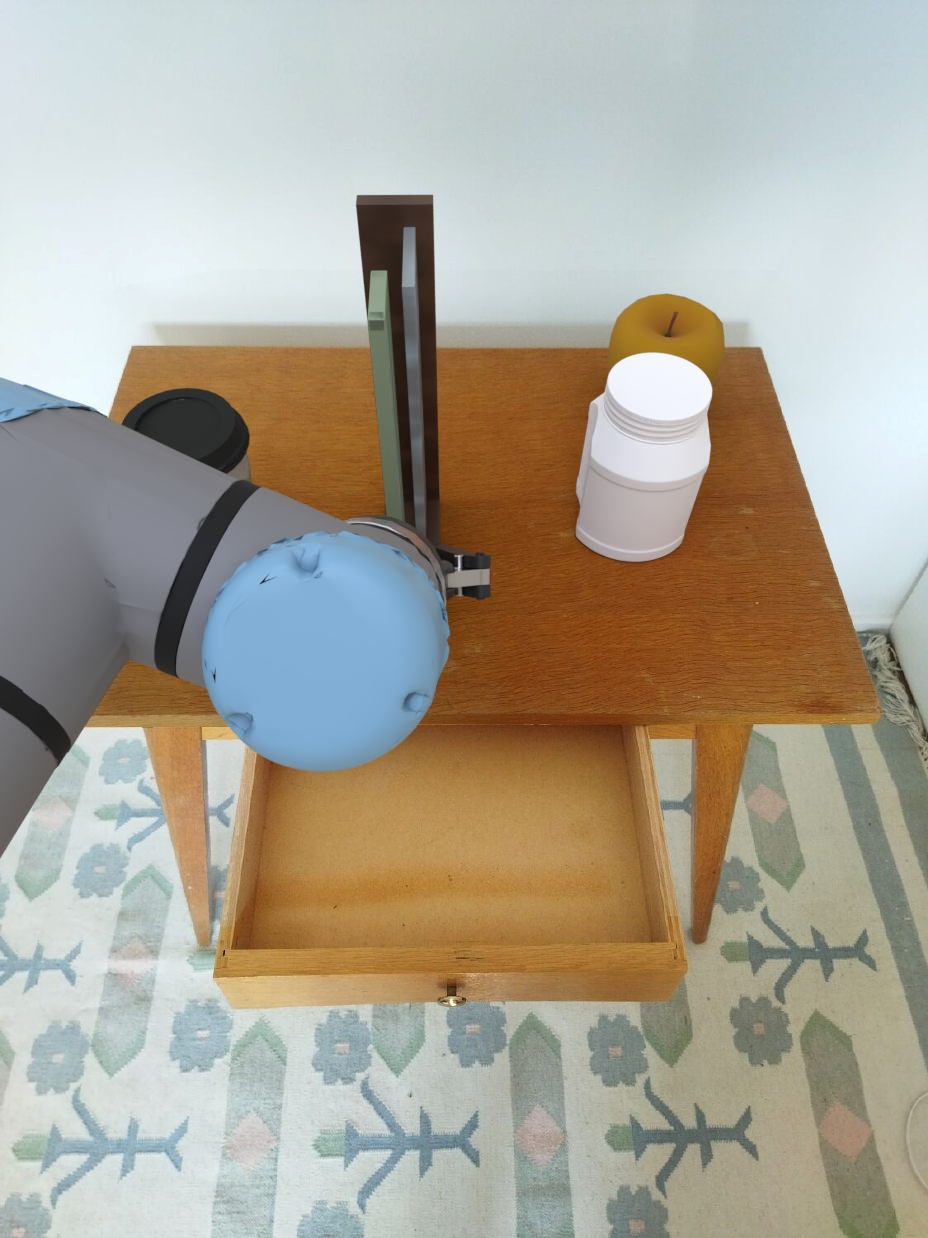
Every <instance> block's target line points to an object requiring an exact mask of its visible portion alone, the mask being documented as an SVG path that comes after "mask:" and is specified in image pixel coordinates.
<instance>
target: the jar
mask: <svg viewBox="0 0 928 1238" xmlns="http://www.w3.org/2000/svg"><path fill="white" fill-rule="evenodd" d="M712 398H713V388H712V386H711V383H710V381H709V379H708V377H707V376H706V375H705V373H704V372H703V371H702V370H701V369H700V368H698V367H697V366H696V365H694V364H693V363H691V362H689V361H687V360H685V359H683V358H680V357H677V356H674V355H670V354H664V353H641V354H636V355H632V356H629V357H627V358H625V359H623V360H621V361H619V362H618V363H617V364H616V365H615V366H614V367H613V368H612V369H611V371H610V373H608V376H607V379H606V383H605V389H604V392H603V393H601V394H600V395H599V396H597V397H596V398H595V399H593V400H592V401H591V402H590V403H589V407H588V408H589V409H588V419H587V425H586V431H585V435H584V436H585V437H584V442H583V448H582V454H581V460H580V466H579V472H578V476H577V478H576V485H575V494H576V496H577V498H578V503H579V511H578V517H577V519H576V524H575V537H576V538H577V539H578V540H579V541H580V543H582V544H583V545H584V546H585V547H587V548H588V549H590V550H591V551H593V552H595V553H597V554H598V555H601V556H603V557H605V558H609V559H612V560H615V561H621V562H629V563H641V562H649V561H654V560H657V559H660V558H663V557H665V556H667V555H669V554H671V553H672V552H674V551H676V549H677V548H679V547H680V546H681V545H682V543H683V540H684V537H685V532H686V529H687V525H688V522H689V519H690V516H691V514H692V511H693V508H694V506H695V502H696V499H697V497H698V493H699V490H700V488H701V485H702V482H703V479H704V476H705V474H706V473H707V470H708V467H709V464H710V459H711V448H712V444H711V438H710V428H709V420H708V411H709V409H710V406H711V405H710V404H711V401H712Z"/></svg>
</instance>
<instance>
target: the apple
mask: <svg viewBox="0 0 928 1238" xmlns="http://www.w3.org/2000/svg"><path fill="white" fill-rule="evenodd" d="M608 343H609V344H608V349H607V370H608V371H607V372H608V374H609V373H610V371H611V369H612V368H613V367H614V366H615V365H616V364H617V363H618V362H619V361H621V360H623V359H625V358H627V357H629V356H632V355H636V354H641V353H664V354H670V355H674V356H677V357H680V358H683V359H685V360H687V361H689V362H691V363H693V364H694V365H696V366H697V367H698V368H700V369H701V370H702V371H703V372H704V373H705V375H706V376H707V377H708V379H709V381H710V383H711V386H712V389H713V388H714V385H715V383H716V381H717V379H718V376H719V373H720V371H721V369H722V366H723V363H724V358H725V353H726V348H725V347H726V346H725V330H724V324H723V322H722V320H721V319H720V318H719V316H718V315H717V313H715V312H714V311H713V310H711V309H709V308H708V307H707V306H705V305H703V304H702V303H701V302H699V301H696V300H694V299H692V298H689V297H686V296H683V295H677V294H672V293H658V294H657V293H656V294H650V295H647V296H644V297H640V298H638V299H636V300H635V301H634V302H632V303H631V304H630V305H628V306H627V307H626V308H624V309H623V310H622V311H621V312H620V313H619V315H618V316H617V318H616V320H615V322H614V325H613V328H612V331H611V334H610V338H609V342H608Z"/></svg>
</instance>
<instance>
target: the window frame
mask: <svg viewBox="0 0 928 1238" xmlns="http://www.w3.org/2000/svg"><path fill="white" fill-rule="evenodd" d="M434 208H435V207H434V194H356V199H355V209H356V221H357V229H358V241H359V249H360V261H361V271H362V279H363V280H362V281H363V290H364V292H363V293H364V302H365V311H366V321H367V323H368V307H369V292H370V277H371V271H387V276H388V291H389V305H390V318H391V332H392V346H393V360H394V374H395V387H396V401H397V415H398V429H399V443H400V456H401V470H402V484H403V498H404V512H405V522H406V523H408V524H409V525H411V526H413V527H414V528H416V529H417V530H418V531H420V532H421V533H422V534H423V535H424V536H425V537H426V538H427V539H428V540H429V541H430V542H431V544H432V543H433V542H440V543H441V499H440V497H441V496H440V454H439V453H440V452H439V447H440V446H439V445H440V444H439V407H438V406H439V405H438V404H439V403H438V399H439V398H438V358H437V352H438V351H437V307H436V305H437V304H436V261H435V217H434V216H435V215H434V213H435V212H434V211H435V210H434ZM367 330H368V333H369V329H368V328H367ZM368 340H369V341H368V342H369V343H370V338H369V337H368ZM369 351H370V352H369V353H371V348H370V347H369ZM370 361H371V364H372V359H371V358H370ZM371 370H372V374H373V369H372V368H371ZM372 381H373V384H374V379H373V378H372ZM373 390H374V392H373V393H374V394H375V389H374V388H373ZM374 402H375V404H376V399H375V398H374ZM375 412H376V413H375V414H377V409H376V408H375ZM376 423H377V424H378V419H377V418H376ZM377 433H378V434H379V430H378V429H377ZM378 441H379V444H380V440H379V439H378ZM379 452H380V455H381V450H380V449H379ZM380 463H381V465H382V460H381V459H380ZM381 470H382V469H381ZM381 473H382V475H383V470H382V471H381ZM382 482H383V483H382V484H383V485H384V480H383V479H382ZM383 492H384V495H385V491H384V490H383ZM384 516H387V511H386V501H385V500H384Z"/></svg>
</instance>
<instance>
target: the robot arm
mask: <svg viewBox="0 0 928 1238" xmlns="http://www.w3.org/2000/svg"><path fill="white" fill-rule="evenodd" d="M121 424H122V423H119V422H117V421H115V420H114V419H113V420H112V419H110V418H109V417H108V415H106V414H104V413H102V412H100V411H99V410H98V409H96V408H95V407H92V406H90V405H87V404H85V403H81V402H78V401H74V400H70V399H67V398H63V397H61V396H58V395H55V394H52V393H51V392H47V391H44V390H42V389H39V388H37V387H34V386H31V385H29V384H22V383H19V382H16V381H14V380H10V379H7V378H4V377H1V376H0V859H1V858H2V857H3V855H4V853H5V852H6V850H7V848H8V847H9V845H10V844H11V842H12V840H13V838H14V837H15V836H16V834H17V833H18V830H19V829H20V827H21V826H22V824H23V822H24V821H25V819H26V818H27V816H28V814H29V813H30V812H31V809H32V808H33V806H34V805H35V803H36V801H37V800H38V798H39V796H40V795H41V794H42V792H43V790H44V788H46V785H47V783H48V782H49V781H50V778H51V777H52V775H53V773H54V772H55V771H56V769H57V768H58V767H59V766H60V765H61V763H62V762H63V760H64V758H65V757H66V756H67V754H69V752H70V751H71V750H72V748H73V747H74V744H75V743H76V742H77V740H78V738H79V737H80V735H81V734H82V733H83V732H82V731H84V729H85V727H86V726H87V724H88V722H89V721H90V720H91V718H92V716H93V714H94V713H95V711H96V710H97V708H98V707H99V705H100V704H101V702H102V700H103V699H104V697H105V696H106V694H107V692H108V691H109V690H110V689H111V686H112V685H113V684H114V682H115V680H116V679H117V677H118V676H119V674H120V672H121V671H122V669H123V668H124V666H125V665H126V664H127V663H129V662H133V663H137V664H140V665H143V666H146V667H149V668H151V669H155V670H158V671H160V672H162V673H164V674H167V675H168V676H171V677H174V678H177V679H178V680H183V681H186V682H187V683H190V684H192V685H195V686H198V687H200V688H203V689H205V690H207V692H208V697H209V699H210V701H211V703H212V706H213V707H214V709H215V711H216V713H217V714H218V715H219V717H221V719H222V720H223V722H225V724H226V725H227V726H228V728H229V729H230V730H231V731H232V732H233V733H234V735H235V736H237V738H238V739H239V740H240V741H241V742H242V743H243V744H245V745H246V746H247V747H248V748H249V749H250V750H251V751H253V752H255V753H256V754H258V756H261V757H263V758H265V759H267V760H269V761H270V762H273V763H276V764H277V765H280V766H283V767H287V768H290V769H294V770H298V771H299V770H300V771H305V772H306V771H307V772H313V773H314V772H317V773H328V772H329V773H330V772H340V771H344V770H345V771H346V770H351V769H353V768H354V769H355V768H357V767H361V766H363V765H366V764H368V763H370V762H373V761H375V760H377V759H379V758H381V757H383V756H384V755H386V754H387V753H389V752H390V751H392V750H393V749H395V748H396V747H397V746H399V745H400V744H401V743H402V742H404V741H405V739H407V738H408V736H411V734H412V733H413V732H414V731H415V729H416V728H417V726H418V725H419V724H420V723H421V721H422V720H423V718H424V716H425V715H426V713H427V711H428V709H429V708H430V707H431V705H432V704H433V702H434V698H435V693H436V689H437V686H438V682H439V679H440V677H441V675H442V672H443V671H444V668H445V665H447V662H448V660H449V655H450V645H449V642H448V639H449V637H450V636H451V630H450V625H449V618H448V611H447V601H449V600H450V599H451V598H453V597H458V598H459V597H467V598H472V599H475V600H478V601H484V600H485V599H488V598H492V568H491V567H492V565H491V564H492V563H491V562H492V559H491V558H492V556H491V555H492V554H489V553H488V554H487V553H486V552H485V551H476V552H471V551H468V550H465V549H462V548H458V547H455V546H452V545H448V544H446V543H441V541H440V542H433V543H432V544H431V542H430V541H429V540H428V539H427V538H426V537H425V536H424V535H423V534H422V533H421V532H420V531H418V530H417V529H416V528H414V527H413V526H411V525H409V524H408V523H406V522H404V521H401V520H399V519H396V518H392V517H388V516H385V515H382V514H366V515H365V514H364V515H359V516H355V517H351V518H348V519H345V520H342V519H340V518H337V517H334V516H332V515H330V514H328V513H326V512H324V511H321V510H319V509H317V508H314V507H312V506H310V505H308V504H305V503H303V502H301V501H298V500H296V499H294V498H291V497H289V496H287V495H285V494H282V493H281V492H277V491H275V490H273V489H270V488H267V487H264V486H260V485H257V484H255V483H253V482H252V483H251V482H249V481H246V480H238V479H236V478H234V477H232V476H229V475H227V474H225V473H223V472H221V471H219V470H217V469H214V468H212V467H210V466H208V465H206V464H204V463H202V462H199V461H197V460H195V459H193V458H191V457H189V456H187V455H185V454H182V453H180V452H178V451H176V450H174V449H172V448H170V447H168V446H166V445H163V444H161V443H159V442H157V441H155V440H153V439H151V438H149V437H147V436H144V435H142V434H140V433H138V432H136V431H134V430H132V429H130V428H128V427H125V426H123V425H121Z"/></svg>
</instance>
